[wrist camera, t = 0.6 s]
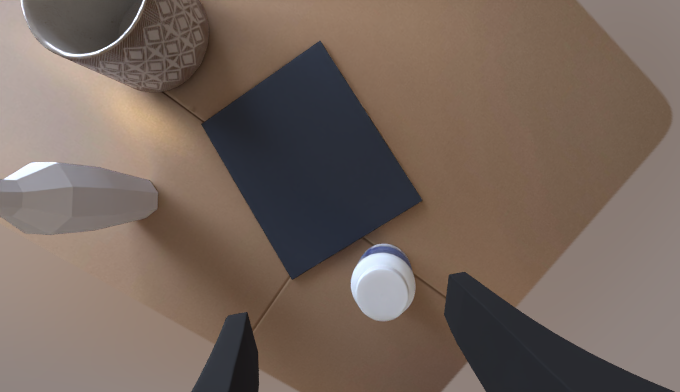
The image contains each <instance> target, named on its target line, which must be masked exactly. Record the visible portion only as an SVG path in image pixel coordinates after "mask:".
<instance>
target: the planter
mask: <svg viewBox="0 0 680 392" xmlns="http://www.w3.org/2000/svg"><path fill="white" fill-rule="evenodd" d="M21 3H22V9H23V14H24V17H25V20H26V22H27V25H28V27H29V29H30V30H31V32H32V34H33V35H34V36H35V38H36V39H37V40H38V41H39V42H40V43H41V44H42V45H43V46H44V47H45V48H47V49H48V50H49V51H51V52H53V53H55V54H57V55H59V56H61V57H64V58H66V59H68V60H71V61H73V62H75V63H77V64H80V65H82V66H84V67H87V68H89V69H91V70H93V71H96V72H98V73H100V74H103V75H105V76H107V77H110V78H112V79H114V80H116V81H119V82H121V83H123V84H126V85H128V86H130V87H132V88H135V89H137V90H140V91H145V92H163V91H167V90H170V89H173V88H175V87H177V86H179V85H181V84H182V83H184V82H185V81H186V80H187V79H189V78H190V77H191V76H192V75H193V73H194V72H195V71H196V70H197V68H198V67H199V65H200V64H201V62H202V60H203V58H204V55H205V53H206V49H207V45H208V39H209V26H208V19H207V16H206V13H205V10H204V8H203V6H202V4H201V2H200V1H199V0H21Z"/></svg>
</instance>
